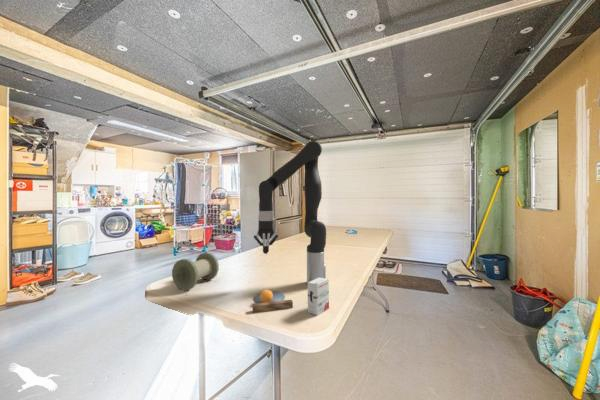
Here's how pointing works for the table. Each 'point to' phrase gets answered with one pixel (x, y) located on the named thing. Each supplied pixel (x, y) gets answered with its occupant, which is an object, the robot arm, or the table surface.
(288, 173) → the robot arm
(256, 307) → the brown square bar
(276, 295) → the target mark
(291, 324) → the table surface
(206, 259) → the spool
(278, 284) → the table surface
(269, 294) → the ball
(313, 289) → the ink box
